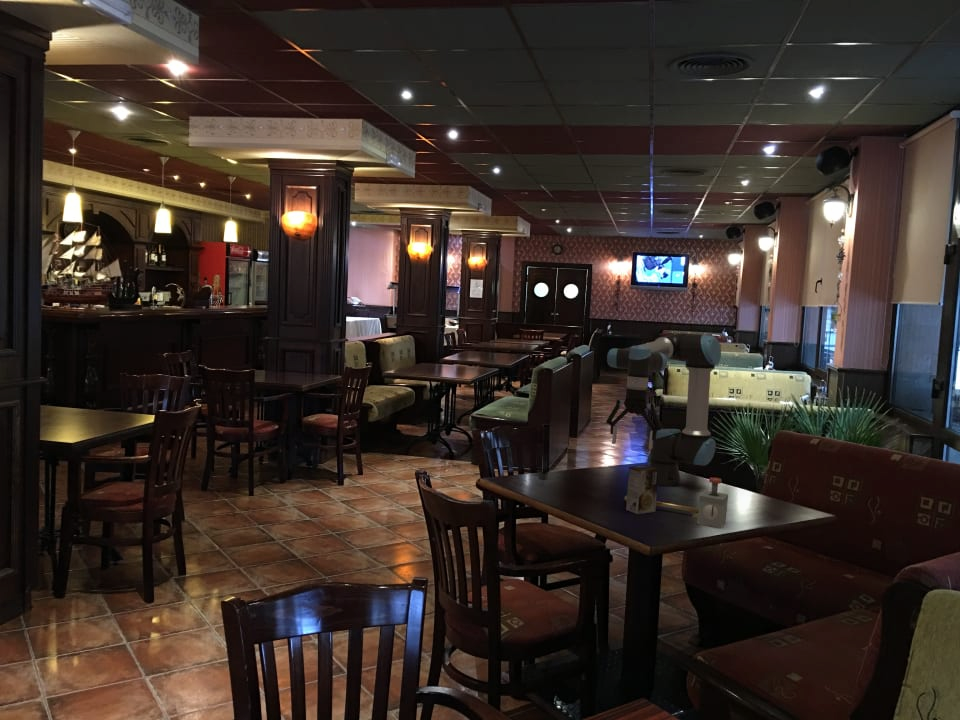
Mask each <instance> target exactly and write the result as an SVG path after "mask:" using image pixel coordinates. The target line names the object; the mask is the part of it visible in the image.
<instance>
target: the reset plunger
mask: <svg viewBox="0 0 960 720" xmlns="http://www.w3.org/2000/svg"><path fill="white" fill-rule="evenodd" d="M709 483H711V490H710V491H711V493H712V494H717V492H719V491H718V490H719V489H718V488H719V484H722V478H719V477H709Z"/></svg>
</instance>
